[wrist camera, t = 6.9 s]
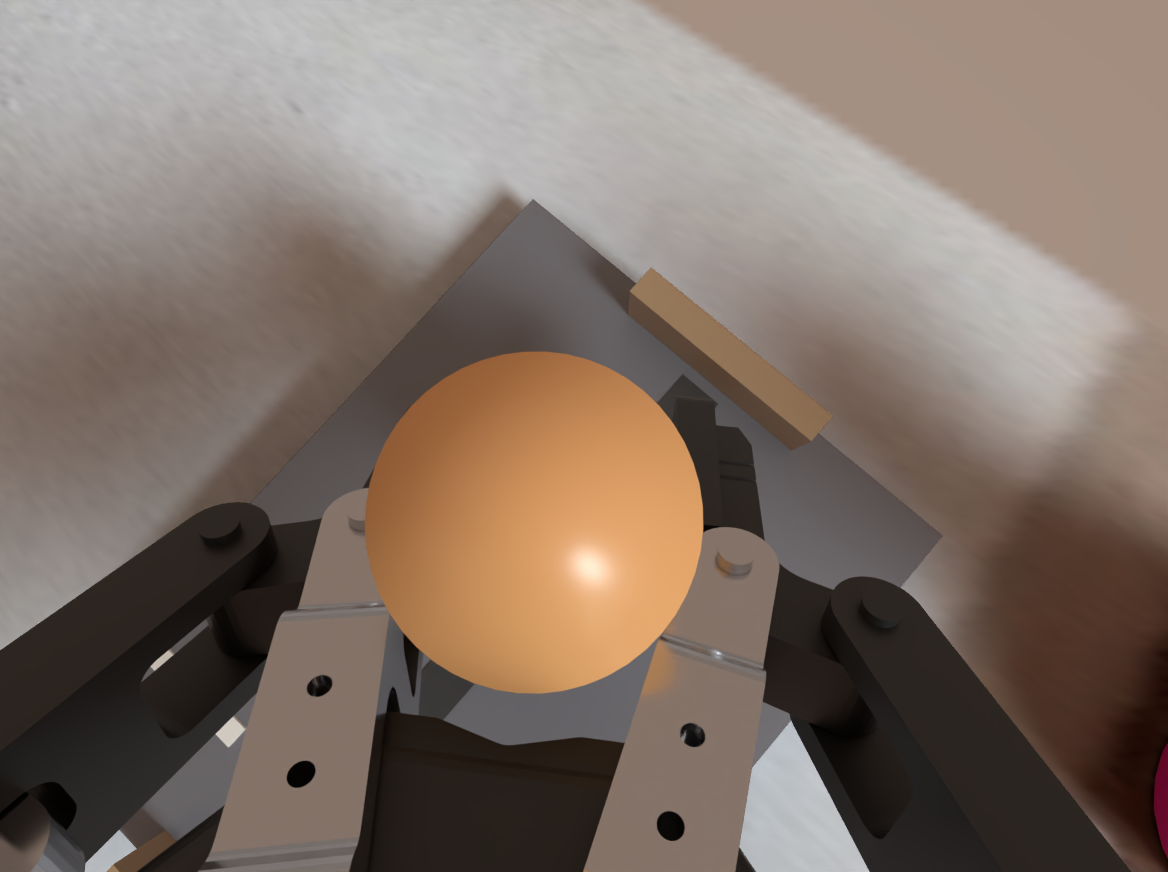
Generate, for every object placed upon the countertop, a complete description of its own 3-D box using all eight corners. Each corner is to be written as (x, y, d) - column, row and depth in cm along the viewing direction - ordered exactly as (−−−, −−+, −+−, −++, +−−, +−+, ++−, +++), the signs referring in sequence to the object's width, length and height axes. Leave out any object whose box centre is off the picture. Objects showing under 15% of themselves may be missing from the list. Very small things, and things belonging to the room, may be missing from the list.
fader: (443, 534, 17) (206, 537, 7) (572, 390, 18) (516, 203, 8) (588, 669, 17) (550, 877, 7) (720, 517, 17) (869, 495, 7)
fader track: (79, 719, 19) (-33, 759, 16) (539, 223, 20) (524, 164, 17) (441, 1110, 17) (401, 1245, 14) (916, 535, 19) (980, 536, 15)
